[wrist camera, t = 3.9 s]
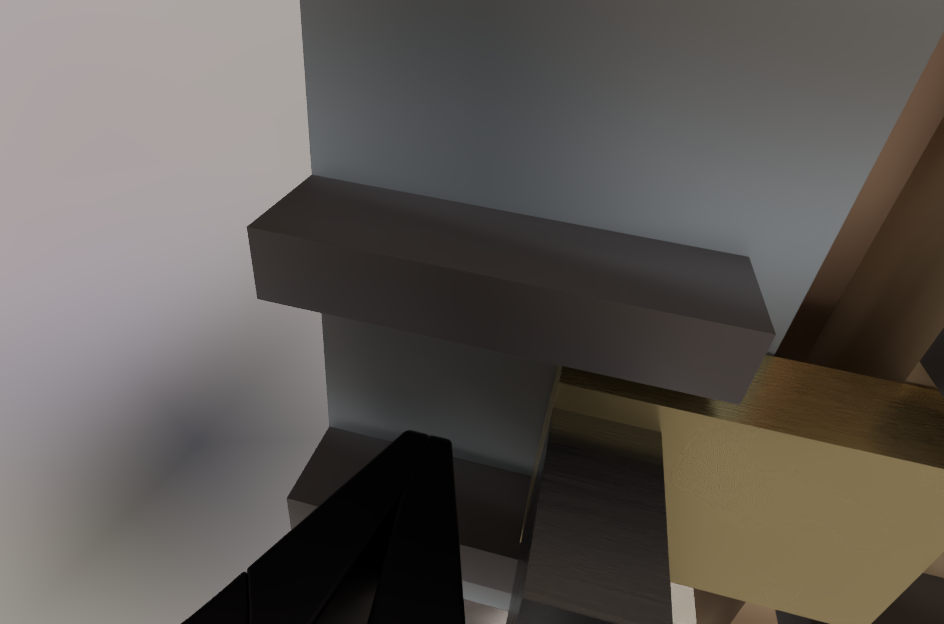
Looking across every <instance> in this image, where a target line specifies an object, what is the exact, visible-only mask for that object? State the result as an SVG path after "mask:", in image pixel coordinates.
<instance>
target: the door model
mask: <svg viewBox="0 0 944 624" xmlns="http://www.w3.org/2000/svg"><path fill="white" fill-rule="evenodd" d="M300 9H301V24H302V38H303V52H304V66H305V80H306V96H307V109H308V124H309V139H310V153H311V168H312V175H311V176H310V177H308V178H307V179H306V180H305V181H303V182H302V183H301V184H300V185H298V186H297V187H296V188H295V189H293V190H292V191H291V192H290V193H289V194H287V195H286V196H285V197H284V198H282V199H281V200H280V201H279V202H277V203H276V204H275V205H274V206H272V207H271V208H270V209H269V210H267V211H266V212H265V213H264V214H263V215H261V216H260V217H259V218H257V219H256V220H255V221H254V222H253V223H251V224H250V225H249V226H247V231H248V238H249V244H250V251H251V258H252V265H253V272H254V278H255V285H256V291H257V298H258V299H261V300H265V301H270V302H275V303H279V304H284V305H288V306H293V307H297V308H302V309H306V310H311V311H315V312H320V313H322V325H323V340H324V354H325V369H326V384H327V398H328V412H329V428H328V430H327V431H326V433H325V435H324V437H323V438H322V440H321V442H320V443H319V445H318V447H317V448H316V450H315V452H314V453H313V455H312V457H311V458H310V460H309V462H308V464H307V465H306V467H305V468H304V470H303V472H302V474H301V475H300V477H299V479H298V480H297V482H296V484H295V485H294V487H293V489H292V491H291V492H290V494H289V495H288V497H287V503H288V510H289V516H290V524H291V530H292V529H293V528H294V527H295V526H297V525H298V524H299V523H300V522H301V521H302V520H303V519H305V518H306V517H307V516H308V515H309V514H310V513H311V512H313V511H314V510H315V509H316V508H317V507H318V506H319V505H321V504H322V503H323V502H324V501H325V500H326V499H327V498H329V497H330V496H331V495H332V494H333V493H334V492H335V491H337V490H338V489H339V488H340V487H341V486H342V485H344V484H345V483H346V482H347V481H348V480H349V479H350V478H352V477H353V476H354V475H355V474H356V473H357V472H358V471H360V470H361V469H362V468H363V467H364V466H365V465H366V464H368V463H369V462H370V461H371V460H372V459H373V458H374V457H376V456H377V455H378V454H379V453H380V452H381V451H382V450H384V449H385V448H386V447H387V446H388V445H389V444H391V443H392V442H393V441H394V440H395V439H396V438H397V437H399V436H400V435H401V434H402V433H403V432H404V431H407V430H413V431H417V432H421V433H425V434H428V435H429V436H430V435H434V436H438V437H442V438H446V439H450V440H451V442H452V449H453V462H454V476H455V489H456V503H457V517H458V530H459V544H460V558H461V571H462V585H463V599H467V600H470V601H474V602H477V603H481V604H484V605H488V606H492V607H495V608H499V609H502V610H506V611H509V606H510V600H511V595H512V589H513V583H514V578H515V572H516V566H517V561H518V555H519V550H520V544H521V543H520V537H521V532H522V526H523V521H524V515H525V510H526V504H527V498H528V493H529V487H530V482H531V476H532V470H533V466H534V461H535V457H536V453H537V449H538V445H539V441H540V437H541V432H542V428H543V424H544V420H545V416H546V412H547V407H548V403H549V399H550V395H551V391H552V387H553V383H554V378H555V374H556V370H557V366H558V365H560V366H565V367H569V368H574V369H578V370H583V371H587V372H592V373H596V374H601V375H606V376H610V377H615V378H619V379H624V380H628V381H633V382H637V383H642V384H646V385H651V386H655V387H660V388H665V389H669V390H674V391H678V392H683V393H687V394H692V395H696V396H701V397H705V398H710V399H714V400H719V401H724V402H728V403H733V404H737V405H740V404H741V402H742V400H743V398H744V396H745V394H746V392H747V390H748V388H749V386H750V385H751V383H752V381H753V379H754V377H755V375H756V373H757V371H758V369H759V367H760V365H761V363H762V361H763V359H764V357H765V355H770V356H774V357H779V358H784V359H789V360H794V361H798V362H803V363H808V364H813V365H818V366H822V367H827V368H832V369H837V370H842V371H846V372H851V373H856V374H861V375H866V376H870V377H875V378H880V379H885V380H890V381H894V382H899V383H904V384H909V385H914V386H918V387H923V388H928V389H933V390H937V391H939V392H940V394H941V395H942V397H943V398H944V0H300ZM694 598H695V608H696V619H697V624H829V623H825V622H821V621H817V620H814V619H810V618H806V617H802V616H798V615H795V614H791V613H787V612H783V611H779V610H776V609H772V608H768V607H764V606H760V605H757V604H753V603H749V602H745V601H741V600H737V599H734V598H730V597H726V596H722V595H718V594H715V593H711V592H707V591H703V590H699V589H696V588H694ZM871 624H944V552H943V553H942V554H941V555H940V556H939V557H938V558H937V559H936V560H935V561H934V562H933V563H932V564H931V565H930V566H929V567H928V568H927V569H926V570H925V571H924V572H923V573H922V574H921V575H920V576H919V577H918V578H917V579H916V580H915V581H914V582H913V583H912V584H911V585H910V586H909V587H908V588H907V589H906V590H905V591H904V592H903V593H902V594H901V595H900V596H899V597H898V598H897V599H896V600H895V601H894V602H893V603H892V604H891V605H890V606H889V607H888V608H887V609H886V610H885V611H884V612H882V613H881V614H880V615H879V616H878V617H877V618H876V619H875V620H874V621H873V622H872V623H871Z"/></svg>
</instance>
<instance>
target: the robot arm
mask: <svg viewBox="0 0 944 624" xmlns="http://www.w3.org/2000/svg"><path fill="white" fill-rule="evenodd" d="M181 624H465V612H464V599H463V585H462V571H461V558H460V544H459V530H458V517H457V503H456V489H455V476H454V462H453V449H452V442H451V440H450V439H446V438H442V437H438V436H434V435H430V436H429V435H428V434H425V433H421V432H417V431H413V430H407V431H404V432H403V433H402V434H401V435H400V436H399V437H397V438H396V439H395V440H394V441H393V442H392V443H391V444H389V445H388V446H387V447H386V448H385V449H384V450H382V451H381V452H380V453H379V454H378V455H377V456H376V457H374V458H373V459H372V460H371V461H370V462H369V463H368V464H366V465H365V466H364V467H363V468H362V469H361V470H360V471H358V472H357V473H356V474H355V475H354V476H353V477H352V478H350V479H349V480H348V481H347V482H346V483H345V484H344V485H342V486H341V487H340V488H339V489H338V490H337V491H335V492H334V493H333V494H332V495H331V496H330V497H329V498H327V499H326V500H325V501H324V502H323V503H322V504H321V505H319V506H318V507H317V508H316V509H315V510H314V511H313V512H311V513H310V514H309V515H308V516H307V517H306V518H305V519H303V520H302V521H301V522H300V523H299V524H298V525H297V526H295V527H294V528H293V529H292V530H291V531H290V532H288V533H287V534H286V535H285V536H284V537H283V538H282V539H280V540H279V541H278V542H277V543H276V544H275V545H274V546H273V547H271V548H270V549H269V550H268V551H267V552H266V553H264V554H263V555H262V556H261V557H260V558H259V559H258V560H256V561H255V562H254V563H253V564H252V565H251V566H250V567H248V569H247V573H246V572H243V573H241V574H240V575H239V576H238V577H237V578H235V579H234V580H233V581H232V582H231V583H230V584H229V585H228V586H226V587H225V588H224V589H223V590H222V591H221V592H219V593H218V594H217V595H216V596H215V597H213V598H212V599H211V600H210V601H209V602H207V603H206V604H205V605H204V606H202V607H201V608H200V609H199V610H198V611H196V612H195V613H194V614H193V615H192V616H190V617H189V618H188V619H186V620H185V621H184V622H182V623H181Z"/></svg>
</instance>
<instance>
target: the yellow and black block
mask: <svg viewBox="0 0 944 624" xmlns="http://www.w3.org/2000/svg"><path fill="white" fill-rule="evenodd" d="M520 543H521V544H520V550H519V555H518V561H517V566H516V572H515V578H514V583H513V589H512V595H511V600H510V606H509V612H508V617H507V623H506V624H673V621H672V604H671V587H670V582H673V583H676V584H680V585H684V586H688V587H692V588H696V589H699V590H703V591H707V592H711V593H715V594H718V595H722V596H726V597H730V598H734V599H737V600H741V601H745V602H749V603H753V604H757V605H760V606H764V607H768V608H772V609H776V610H779V611H783V612H787V613H791V614H795V615H798V616H802V617H806V618H810V619H814V620H817V621H821V622H825V623H829V624H871V623H872V622H873V621H874V620H875V619H876V618H877V617H878V616H879V615H880V614H881V613H882V612H884V611H885V610H886V609H887V608H888V607H889V606H890V605H891V604H892V603H893V602H894V601H895V600H896V599H897V598H898V597H899V596H900V595H901V594H902V593H903V592H904V591H905V590H906V589H907V588H908V587H909V586H910V585H911V584H912V583H913V582H914V581H915V580H916V579H917V578H918V577H919V576H920V575H921V574H922V573H923V572H924V571H925V570H926V569H927V568H928V567H929V566H930V565H931V564H932V563H933V562H934V561H935V560H936V559H937V558H938V557H939V556H940V555H941V554H942V553H943V552H944V398H943V397H942V395H941V394H940V392H939V391H937V390H933V389H928V388H923V387H918V386H914V385H909V384H904V383H899V382H894V381H890V380H885V379H880V378H875V377H870V376H866V375H861V374H856V373H851V372H846V371H842V370H837V369H832V368H827V367H822V366H818V365H813V364H808V363H803V362H798V361H794V360H789V359H784V358H779V357H774V356H770V355H765V357H764V359H763V361H762V363H761V365H760V367H759V369H758V371H757V373H756V375H755V377H754V379H753V381H752V383H751V385H750V386H749V388H748V390H747V392H746V394H745V396H744V398H743V400H742V402H741V404H740V405H737V404H733V403H728V402H724V401H719V400H714V399H710V398H705V397H701V396H696V395H692V394H687V393H683V392H678V391H674V390H669V389H665V388H660V387H655V386H651V385H646V384H642V383H637V382H633V381H628V380H624V379H619V378H615V377H610V376H606V375H601V374H596V373H592V372H587V371H583V370H578V369H574V368H569V367H565V366H560V365H558V366H557V370H556V374H555V378H554V383H553V387H552V391H551V395H550V399H549V403H548V407H547V412H546V416H545V420H544V424H543V428H542V432H541V437H540V441H539V445H538V449H537V453H536V457H535V461H534V466H533V470H532V476H531V482H530V487H529V493H528V498H527V504H526V510H525V515H524V521H523V526H522V532H521V537H520Z"/></svg>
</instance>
